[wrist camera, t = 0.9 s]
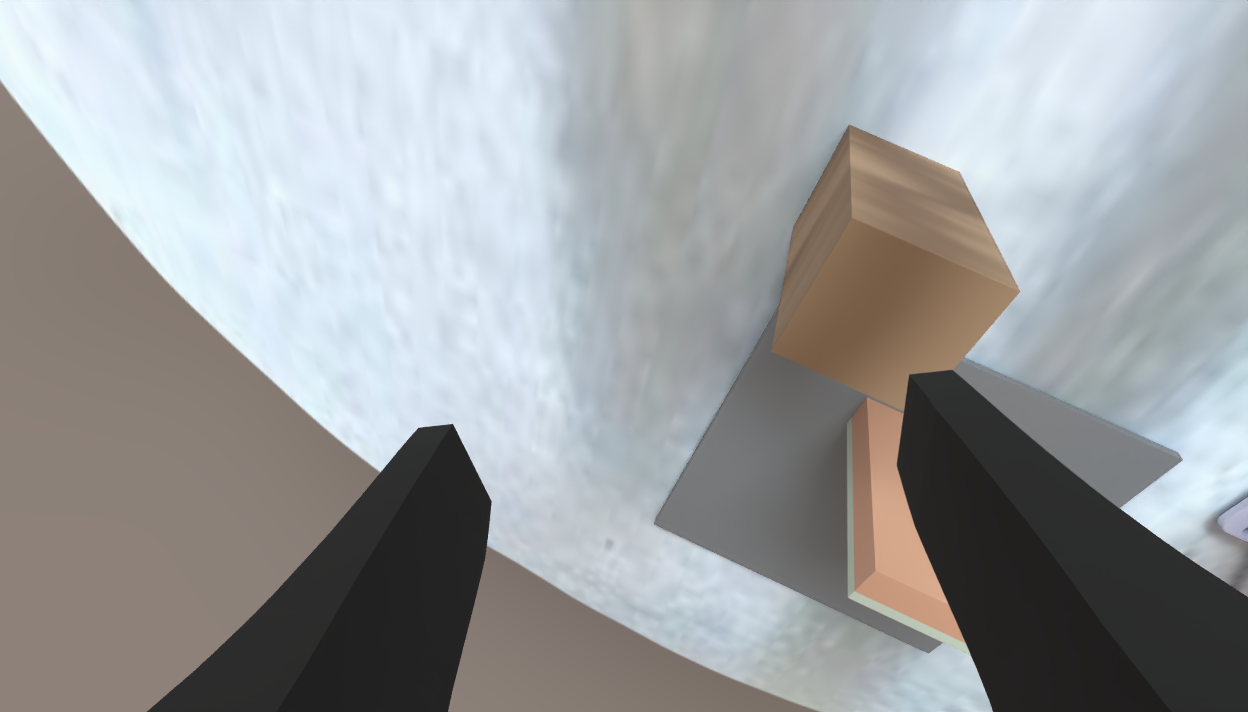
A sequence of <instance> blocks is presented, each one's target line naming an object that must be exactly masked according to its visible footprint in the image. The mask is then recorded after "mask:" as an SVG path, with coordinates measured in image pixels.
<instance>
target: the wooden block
mask: <svg viewBox="0 0 1248 712" xmlns="http://www.w3.org/2000/svg"><path fill="white" fill-rule="evenodd" d="M1019 292H1020V290H1019V288H1018V286H1017V284H1016V282H1015V280H1014V278H1013V276H1012V274H1011V272H1010V270H1009V268H1008V266H1007V265H1006V263H1005V261H1004V259H1003V257H1002V255H1001V253H1000V251H999V249H998V247H997V245H996V243H995V241H994V239H993V237H992V235H991V233H990V231H989V229H988V227H987V225H986V223H985V221H984V219H983V217H982V215H981V213H980V211H979V209H978V207H977V206H976V204H975V202H974V200H973V198H972V196H971V194H970V192H969V190H968V188H967V186H966V184H965V182H964V180H963V178H962V176H961V174H960V172H958V171H955V170H953V169H951V168H949V167H946V166H944V165H942V164H939V163H937V162H935V161H932V160H930V159H928V158H925V157H923V156H921V155H918V154H916V153H914V152H911V151H909V150H907V149H904V148H902V147H900V146H897V145H895V144H893V143H890V142H888V141H886V140H883V139H881V138H879V137H877V136H874V135H872V134H870V133H867V132H865V131H863V130H860V129H858V128H856V127H853V126H851V125H849V126H848V128H847V130H846V132H845V134H844V135H843V137H842V139H841V141H840V143H839V145H838V146H837V148H836V150H835V152H834V154H833V156H832V157H831V159H830V161H829V163H828V165H827V167H826V169H825V170H824V172H823V174H822V176H821V178H820V180H819V181H818V183H817V185H816V187H815V189H814V191H813V192H812V194H811V196H810V198H809V200H808V202H807V203H806V205H805V207H804V209H803V211H802V213H801V214H800V216H799V218H798V220H797V222H796V224H795V225H794V228H793V234H792V239H791V245H790V250H789V256H788V261H787V267H786V273H785V278H784V284H783V289H782V295H781V300H780V306H779V312H778V317H777V323H776V328H775V334H774V339H773V345H772V351H771V352H773V353H776V354H778V355H780V356H782V357H785V358H787V359H789V360H791V361H793V362H796V363H798V364H800V365H802V366H804V367H807V368H809V369H811V370H813V371H816V372H818V373H820V374H822V375H824V376H827V377H829V378H831V379H833V380H835V381H838V382H840V383H842V384H844V385H847V386H849V387H851V388H853V389H855V390H858V391H860V392H862V393H864V394H866V395H869V396H871V397H873V398H875V399H878V400H880V401H882V402H884V403H886V404H889V405H891V406H893V407H895V408H897V409H900V410H902V411H904V407H905V400H906V393H907V386H908V379H909V374H917V373H927V372H936V371H945V370H953V369H954V368H955V367H956V366H957V365H958V364H959V362H960V361H961V360H962V359H963V358H964V357H965V355H966V354H967V353H968V352H969V351H970V350H971V348H972V347H973V346H974V345H975V344H976V343H977V341H978V340H979V339H980V338H981V337H982V336H983V334H984V333H985V332H986V331H987V330H988V329H989V327H990V326H991V325H992V324H993V323H994V322H995V320H996V319H997V318H998V317H999V316H1000V315H1001V313H1002V312H1003V311H1004V310H1005V309H1006V308H1007V306H1008V305H1009V304H1010V303H1011V302H1012V301H1013V299H1014V298H1015V297H1016V296H1017V295H1018V294H1019Z"/></svg>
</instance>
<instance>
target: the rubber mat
mask: <svg viewBox="0 0 1248 712" xmlns="http://www.w3.org/2000/svg"><path fill="white" fill-rule="evenodd" d="M779 306H780V305H779ZM778 312H779V307H778V308H777V310H776V312H775V314H774V315H773V317H772V319H771V320H770V322H769V324H768V326H767V327H766V329H765V331H764V333H763V334H762V336H761V338H760V339H759V341H758V343H757V345H756V346H755V348H754V350H753V352H752V353H751V355H750V357H749V358H748V360H747V362H746V364H745V365H744V367H743V369H742V371H741V372H740V374H739V376H738V377H737V379H736V381H735V383H734V384H733V386H732V388H731V390H730V391H729V393H728V395H727V396H726V398H725V400H724V402H723V403H722V405H721V407H720V409H719V410H718V412H717V414H716V416H715V417H714V419H713V421H712V422H711V424H710V426H709V428H708V429H707V431H706V433H705V435H704V436H703V438H702V440H701V441H700V443H699V445H698V447H697V448H696V450H695V452H694V454H693V455H692V457H691V459H690V460H689V462H688V464H687V466H686V467H685V469H684V471H683V473H682V474H681V476H680V478H679V479H678V481H677V483H676V485H675V486H674V488H673V490H672V492H671V493H670V495H669V497H668V498H667V500H666V502H665V504H664V505H663V507H662V509H661V511H660V512H659V514H658V516H657V517H656V520H655V523H654V524H655V525H657V526H659V527H661V528H664V529H666V530H668V531H670V532H672V533H674V534H676V535H678V536H680V537H683V538H685V539H687V540H689V541H691V542H693V543H695V544H697V545H700V546H702V547H704V548H706V549H708V550H710V551H712V552H714V553H717V554H719V555H721V556H723V557H725V558H727V559H729V560H731V561H734V562H736V563H738V564H740V565H742V566H744V567H746V568H748V569H751V570H753V571H755V572H757V573H759V574H761V575H763V576H765V577H768V578H770V579H772V580H774V581H776V582H778V583H780V584H782V585H784V586H787V587H789V588H791V589H793V590H795V591H797V592H799V593H801V594H804V595H806V596H808V597H810V598H812V599H814V600H816V601H818V602H821V603H823V604H825V605H827V606H829V607H831V608H833V609H835V610H838V611H840V612H842V613H844V614H846V615H848V616H850V617H852V618H855V619H857V620H859V621H861V622H863V623H865V624H867V625H869V626H872V627H874V628H876V629H878V630H880V631H882V632H884V633H886V634H888V635H891V636H893V637H895V638H897V639H899V640H901V641H903V642H905V643H908V644H910V645H912V646H914V647H916V648H918V649H920V650H922V651H925V652H927V653H930V652H931V651H932V650H934V649H935V648H936V647H938V646H939V645H940V644H942V643H943V642H941V641H939V640H937V639H934V638H932V637H930V636H928V635H926V634H924V633H922V632H920V631H917V630H915V629H913V628H911V627H909V626H907V625H905V624H903V623H900V622H898V621H896V620H894V619H892V618H890V617H888V616H885V615H883V614H881V613H879V612H877V611H875V610H873V609H871V608H868V607H866V606H864V605H862V604H860V603H858V602H856V601H854V600H851V599H849V598H848V541H847V422H848V421H849V420H850V419H851V417H852V416H853V415H854V413H855V412H856V411H857V409H858V408H859V407H860V406H861V404H862V403H863V402H864V400H865V399H866V398H867V397H868V398H870V399H872V400H874V401H876V402H879V403H881V404H883V405H885V406H888V407H890V408H892V409H894V410H896V411H899V412H901V413H903V414H904V411H902V410H900V409H897V408H895V407H893V406H891V405H889V404H886V403H884V402H882V401H880V400H878V399H875V398H873V397H871V396H869V395H866V394H864V393H862V392H860V391H858V390H855V389H853V388H851V387H849V386H847V385H844V384H842V383H840V382H838V381H835V380H833V379H831V378H829V377H827V376H824V375H822V374H820V373H818V372H816V371H813V370H811V369H809V368H807V367H804V366H802V365H800V364H798V363H796V362H793V361H791V360H789V359H787V358H785V357H782V356H780V355H778V354H776V353H773V352H771V351H772V345H773V339H774V334H775V328H776V323H777V317H778ZM953 371H955V372H956V373H957V374H958V375H959V376H961V377H962V378H963V379H964V380H965V381H966V382H968V383H969V384H970V385H971V386H972V387H973V388H974V389H976V390H977V391H978V392H979V393H980V394H981V395H982V396H984V397H985V398H986V399H987V400H988V401H989V402H990V403H992V404H993V405H994V406H995V407H996V408H997V409H998V410H1000V411H1001V412H1002V413H1003V414H1004V415H1005V416H1006V417H1008V418H1009V419H1010V420H1011V421H1012V422H1013V423H1015V424H1016V425H1017V426H1018V427H1019V428H1020V429H1022V430H1023V431H1024V432H1025V433H1026V434H1027V435H1029V436H1030V437H1031V438H1032V439H1033V440H1035V441H1036V442H1037V443H1038V444H1039V445H1040V446H1042V447H1043V448H1044V449H1045V450H1046V451H1048V452H1049V453H1050V454H1051V455H1053V456H1054V457H1055V458H1056V459H1058V460H1059V461H1060V462H1061V463H1063V464H1064V465H1065V466H1066V467H1067V468H1069V469H1070V470H1071V471H1072V472H1074V473H1075V474H1076V475H1077V476H1079V477H1080V478H1081V479H1082V480H1084V481H1085V482H1086V483H1087V484H1089V485H1090V486H1091V487H1092V488H1094V489H1095V490H1096V491H1097V492H1099V493H1100V494H1101V495H1103V496H1104V497H1105V498H1107V499H1108V500H1109V501H1110V502H1112V503H1113V504H1114V505H1116V506H1117V507H1118V508H1120V507H1122V506H1123V505H1124V504H1126V503H1127V502H1128V501H1129V500H1131V499H1132V498H1133V497H1135V496H1136V495H1137V494H1139V493H1140V492H1141V491H1143V490H1144V489H1145V488H1147V487H1148V486H1149V485H1150V484H1152V483H1153V482H1154V481H1156V480H1157V479H1158V478H1160V477H1161V476H1162V475H1164V474H1165V473H1166V472H1168V471H1169V470H1170V469H1172V468H1173V467H1174V466H1175V465H1177V464H1178V463H1179V462H1181V461H1182V460H1183V459H1182V458H1181V456H1180V455H1179V453H1177V452H1175V451H1173V450H1171V449H1168V448H1166V447H1164V446H1162V445H1159V444H1157V443H1155V442H1153V441H1150V440H1148V439H1146V438H1144V437H1141V436H1139V435H1137V434H1135V433H1132V432H1130V431H1128V430H1126V429H1123V428H1121V427H1119V426H1117V425H1114V424H1112V423H1110V422H1108V421H1105V420H1103V419H1101V418H1099V417H1096V416H1094V415H1092V414H1090V413H1087V412H1085V411H1083V410H1081V409H1079V408H1076V407H1074V406H1072V405H1070V404H1067V403H1065V402H1063V401H1061V400H1058V399H1056V398H1054V397H1052V396H1049V395H1047V394H1045V393H1043V392H1040V391H1038V390H1036V389H1034V388H1031V387H1029V386H1027V385H1025V384H1022V383H1020V382H1018V381H1016V380H1013V379H1011V378H1009V377H1007V376H1004V375H1002V374H1000V373H998V372H995V371H993V370H991V369H989V368H987V367H984V366H982V365H980V364H978V363H975V362H973V361H971V360H969V359H966V358H963V359H962V360H961V361H960V362H959V364H958V365H957V366H956V367H955V368H954V369H953Z"/></svg>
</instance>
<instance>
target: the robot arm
mask: <svg viewBox="0 0 1248 712" xmlns="http://www.w3.org/2000/svg"><path fill="white" fill-rule="evenodd" d="M897 469H898V472H899V476H900V479H901V483H902V486H903V490H904V493H905V497H906V500H907V503H908V506H909V510H910V513H911V516H912V519H913V522H914V526H915V528H916V531H917V533H918V535H919V538H920V540H921V542H922V545H923V547H924V549H925V552H926V554H927V556H928V559H929V561H930V563H931V565H932V568H933V570H934V572H935V575H936V577H937V579H938V582H939V584H940V586H941V588H942V591H943V593H944V595H945V597H946V600H947V602H948V604H949V607H950V609H951V611H952V613H953V616H954V618H955V620H956V622H957V625H958V627H959V629H960V632H961V634H962V636H963V638H964V641H965V643H966V645H967V647H968V650H969V652H970V654H971V657H972V659H973V661H974V663H975V666H976V668H977V670H978V673H979V676H980V678H981V681H982V683H983V686H984V688H985V691H986V693H987V696H988V698H989V701H990V704H991V707H992V710H993V712H1248V597H1247V596H1245V595H1244V594H1242V593H1241V592H1239V591H1238V590H1236V589H1234V588H1233V587H1231V586H1230V585H1228V584H1227V583H1225V582H1224V581H1222V580H1221V579H1219V578H1218V577H1216V576H1215V575H1213V574H1212V573H1210V572H1208V571H1207V570H1205V569H1204V568H1202V567H1201V566H1199V565H1198V564H1196V563H1195V562H1193V561H1192V560H1190V559H1189V558H1188V557H1186V556H1185V555H1183V554H1182V553H1180V552H1179V551H1177V550H1176V549H1174V548H1173V547H1172V546H1170V545H1169V544H1167V543H1166V542H1165V541H1163V540H1162V539H1160V538H1159V537H1158V536H1156V535H1155V534H1153V533H1152V532H1151V531H1149V530H1148V529H1147V528H1145V527H1144V526H1143V525H1141V524H1140V523H1139V522H1137V521H1136V520H1134V519H1133V518H1132V517H1130V516H1129V515H1128V514H1126V513H1125V512H1124V511H1122V510H1121V509H1120V508H1118V507H1117V506H1116V505H1114V504H1113V503H1112V502H1110V501H1109V500H1108V499H1107V498H1105V497H1104V496H1103V495H1101V494H1100V493H1099V492H1097V491H1096V490H1095V489H1094V488H1092V487H1091V486H1090V485H1089V484H1087V483H1086V482H1085V481H1084V480H1082V479H1081V478H1080V477H1079V476H1077V475H1076V474H1075V473H1074V472H1072V471H1071V470H1070V469H1069V468H1067V467H1066V466H1065V465H1064V464H1063V463H1061V462H1060V461H1059V460H1058V459H1056V458H1055V457H1054V456H1053V455H1051V454H1050V453H1049V452H1048V451H1046V450H1045V449H1044V448H1043V447H1042V446H1040V445H1039V444H1038V443H1037V442H1036V441H1035V440H1033V439H1032V438H1031V437H1030V436H1029V435H1027V434H1026V433H1025V432H1024V431H1023V430H1022V429H1020V428H1019V427H1018V426H1017V425H1016V424H1015V423H1013V422H1012V421H1011V420H1010V419H1009V418H1008V417H1006V416H1005V415H1004V414H1003V413H1002V412H1001V411H1000V410H998V409H997V408H996V407H995V406H994V405H993V404H992V403H990V402H989V401H988V400H987V399H986V398H985V397H984V396H982V395H981V394H980V393H979V392H978V391H977V390H976V389H974V388H973V387H972V386H971V385H970V384H969V383H968V382H966V381H965V380H964V379H963V378H962V377H961V376H959V375H958V374H957V373H956V372H955V371H953V370H945V371H936V372H927V373H917V374H909V379H908V386H907V393H906V400H905V407H904V415H903V422H902V429H901V436H900V443H899V451H898V458H897ZM491 502H492V501H491V499H490V497H489V495H488V493H487V491H486V489H485V487H484V485H483V483H482V481H481V479H480V477H479V475H478V473H477V471H476V469H475V467H474V465H473V463H472V461H471V459H470V457H469V455H468V453H467V451H466V449H465V447H464V445H463V443H462V441H461V439H460V437H459V435H458V433H457V431H456V429H455V427H454V425H453V424H449V425H440V426H431V427H422V428H418V429H417V430H416V431H415V432H414V434H413V435H412V436H411V437H410V438H409V439H408V440H407V442H406V443H405V444H404V445H403V446H402V447H401V449H400V450H399V451H398V452H397V453H396V455H395V456H394V457H393V458H392V459H391V461H390V462H389V463H388V464H387V465H386V467H385V468H384V469H383V470H382V471H381V473H380V474H379V475H378V476H377V478H376V479H375V480H374V481H373V482H372V484H371V485H370V486H369V487H368V488H367V490H366V491H365V492H364V493H363V494H362V496H361V497H360V498H359V499H358V500H357V501H356V503H355V504H354V505H353V506H352V507H351V509H350V510H349V511H348V512H347V513H346V514H345V515H344V517H343V518H342V519H341V520H340V521H339V523H338V524H337V525H336V526H335V527H334V529H333V530H332V531H331V532H330V533H329V534H328V535H327V537H326V538H325V539H324V540H323V541H322V542H321V543H320V544H319V545H318V546H317V548H316V549H315V550H314V551H313V552H312V553H311V554H310V555H309V556H308V557H307V558H306V559H305V561H304V562H303V563H302V564H301V565H300V566H299V567H298V568H297V569H296V570H295V571H294V573H293V574H292V575H291V576H290V577H289V578H288V579H287V580H286V581H285V582H284V583H283V585H282V586H281V587H280V588H279V589H278V590H277V591H276V592H275V593H274V594H273V595H272V596H271V598H269V599H268V600H267V602H266V603H265V604H264V605H263V606H262V607H261V608H260V609H259V610H258V611H257V612H256V613H255V614H254V615H253V616H252V617H251V618H250V619H249V620H248V621H247V622H246V623H245V624H244V625H243V626H242V627H240V629H238V631H236V632H235V633H234V634H233V635H232V636H231V637H230V638H229V639H228V640H227V641H226V642H225V643H224V644H223V645H222V646H220V647H219V648H218V649H217V651H215V652H214V653H213V654H212V655H211V656H210V657H209V658H208V659H207V660H206V661H205V662H203V663H202V664H201V665H200V666H199V667H198V668H197V669H196V670H195V671H194V672H193V673H191V674H190V675H189V676H188V677H187V678H186V679H184V680H183V681H182V682H181V683H180V684H179V685H177V686H176V687H175V688H174V689H173V690H172V691H170V692H169V693H168V694H167V695H166V696H165V697H163V699H161V700H160V701H159V702H158V703H157V704H155V705H154V706H153V707H152V708H151V709H150V710H149V711H147V712H448V709H449V704H450V699H451V695H452V690H453V686H454V682H455V678H456V674H457V670H458V666H459V662H460V658H461V654H462V650H463V646H464V642H465V639H466V634H467V630H468V627H469V623H470V619H471V614H472V611H473V607H474V603H475V599H476V594H477V590H478V586H479V582H480V578H481V574H482V569H483V565H484V561H485V554H486V547H487V539H488V531H489V522H490V512H491ZM1217 522H1218V524H1219V526H1220V527H1221V529H1222V530H1223V531H1224V532H1226V533H1228V534H1230V535H1232V536H1234V537H1236V538H1239V539H1241V540H1243V541H1245V542H1247V543H1248V529H1246V528H1248V497H1247V498H1246V499H1244V500H1243V501H1241V502H1240V503H1238V504H1237V505H1235V506H1234V507H1232V508H1231V509H1229V510H1228V511H1226V512H1225V513H1223V514H1222V515H1221V516H1220V517H1219V518H1218V521H1217Z"/></svg>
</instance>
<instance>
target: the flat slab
mask: <svg viewBox="0 0 1248 712" xmlns="http://www.w3.org/2000/svg"><path fill="white" fill-rule="evenodd" d="M903 415H904V414H903V413H901V412H899V411H896V410H894V409H892V408H890V407H888V406H885V405H883V404H881V403H879V402H876V401H874V400H872V399H870V398H868V397H867V398H866V399H865V400H864V402H863V403H862V404H861V406H860V407H859V408H858V409H857V411H856V412H855V413H854V415H853V416H852V417H851V419H850V420H849V421H848V422H847V541H848V598H849V599H851V600H854V601H856V602H858V603H860V604H862V605H864V606H866V607H868V608H871V609H873V610H875V611H877V612H879V613H881V614H883V615H885V616H888V617H890V618H892V619H894V620H896V621H898V622H900V623H903V624H905V625H907V626H909V627H911V628H913V629H915V630H917V631H920V632H922V633H924V634H926V635H928V636H930V637H932V638H934V639H937V640H939V641H941V642H943V643H945V644H947V645H949V646H951V647H954V648H956V649H958V650H960V651H962V652H964V653H966V654H969V655H971V654H970V652H969V650H968V647H967V645H966V643H965V641H964V638H963V636H962V634H961V632H960V629H959V627H958V625H957V622H956V620H955V618H954V616H953V613H952V611H951V609H950V607H949V604H948V602H947V600H946V597H945V595H944V593H943V591H942V588H941V586H940V584H939V582H938V579H937V577H936V575H935V572H934V570H933V568H932V565H931V563H930V561H929V559H928V556H927V554H926V552H925V549H924V547H923V545H922V542H921V540H920V538H919V535H918V533H917V531H916V528H915V526H914V522H913V519H912V516H911V513H910V510H909V506H908V503H907V500H906V497H905V493H904V490H903V486H902V483H901V479H900V476H899V472H898V469H897V458H898V451H899V443H900V436H901V429H902V422H903Z"/></svg>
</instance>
